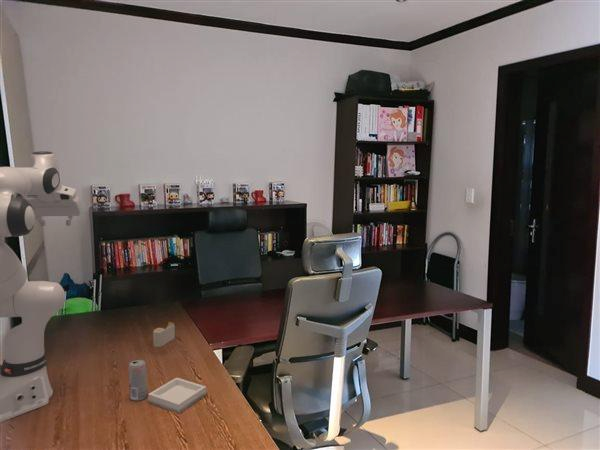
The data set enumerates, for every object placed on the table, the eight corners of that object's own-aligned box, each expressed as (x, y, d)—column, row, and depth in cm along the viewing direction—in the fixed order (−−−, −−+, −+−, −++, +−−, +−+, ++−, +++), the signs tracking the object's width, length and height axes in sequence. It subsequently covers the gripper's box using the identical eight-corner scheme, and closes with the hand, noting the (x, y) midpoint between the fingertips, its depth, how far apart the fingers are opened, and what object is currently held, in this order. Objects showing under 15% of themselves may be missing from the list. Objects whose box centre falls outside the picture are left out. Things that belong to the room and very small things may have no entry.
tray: (178, 413, 143) (178, 404, 142) (148, 402, 149) (148, 394, 148) (206, 394, 154) (206, 386, 153) (176, 385, 160) (176, 377, 160)
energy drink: (141, 391, 156) (140, 357, 154) (150, 396, 152) (149, 362, 151) (126, 397, 152) (125, 363, 150) (135, 403, 148) (134, 368, 147)
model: (153, 347, 193) (153, 329, 192) (168, 337, 203) (168, 321, 202) (160, 348, 192) (159, 330, 191) (174, 338, 202) (174, 322, 201)
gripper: (16, 196, 169) (24, 229, 175) (76, 195, 173) (81, 228, 179) (22, 189, 174) (29, 222, 180) (80, 189, 178) (85, 221, 184)
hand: (56, 225), depth 180 cm, fingers open, 8 cm apart
